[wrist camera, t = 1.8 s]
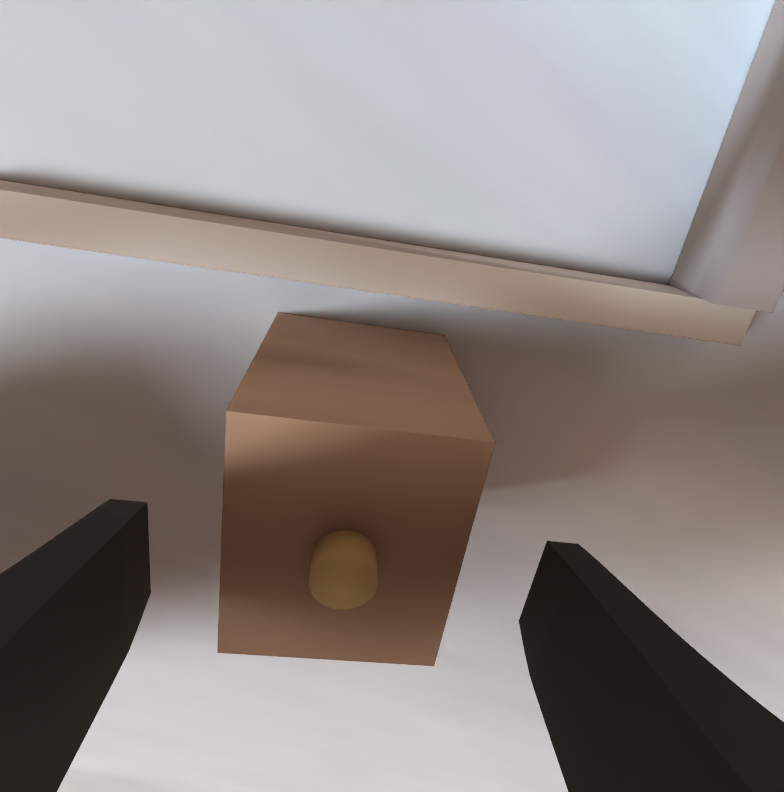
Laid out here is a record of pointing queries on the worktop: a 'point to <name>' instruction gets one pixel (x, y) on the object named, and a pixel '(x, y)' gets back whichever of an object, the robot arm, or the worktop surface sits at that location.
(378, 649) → the cabinet block
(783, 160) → the board
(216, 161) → the worktop surface
